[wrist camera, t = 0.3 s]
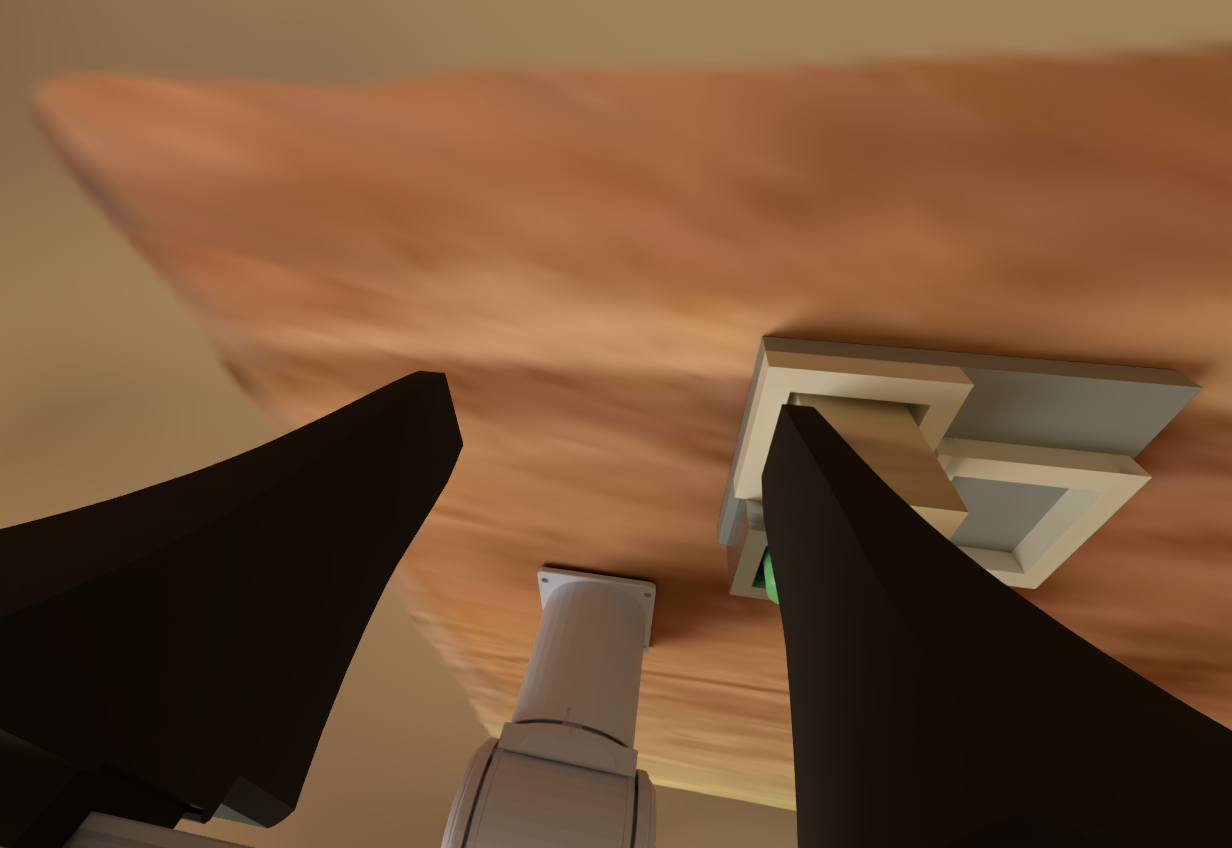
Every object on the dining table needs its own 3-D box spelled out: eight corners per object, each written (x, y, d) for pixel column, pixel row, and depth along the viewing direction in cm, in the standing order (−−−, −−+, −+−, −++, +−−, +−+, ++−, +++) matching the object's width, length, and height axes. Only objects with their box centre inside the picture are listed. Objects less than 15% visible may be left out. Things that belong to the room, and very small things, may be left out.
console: (821, 557, 24) (833, 609, 22) (726, 545, 25) (729, 594, 23) (853, 493, 21) (871, 545, 19) (744, 480, 22) (749, 529, 20)
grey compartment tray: (1001, 562, 24) (1026, 604, 23) (717, 526, 26) (718, 562, 24) (1175, 370, 17) (1233, 407, 15) (762, 336, 19) (768, 366, 17)
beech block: (864, 469, 20) (911, 589, 16) (772, 459, 21) (792, 573, 16) (900, 396, 18) (969, 512, 13) (795, 386, 18) (826, 495, 14)
